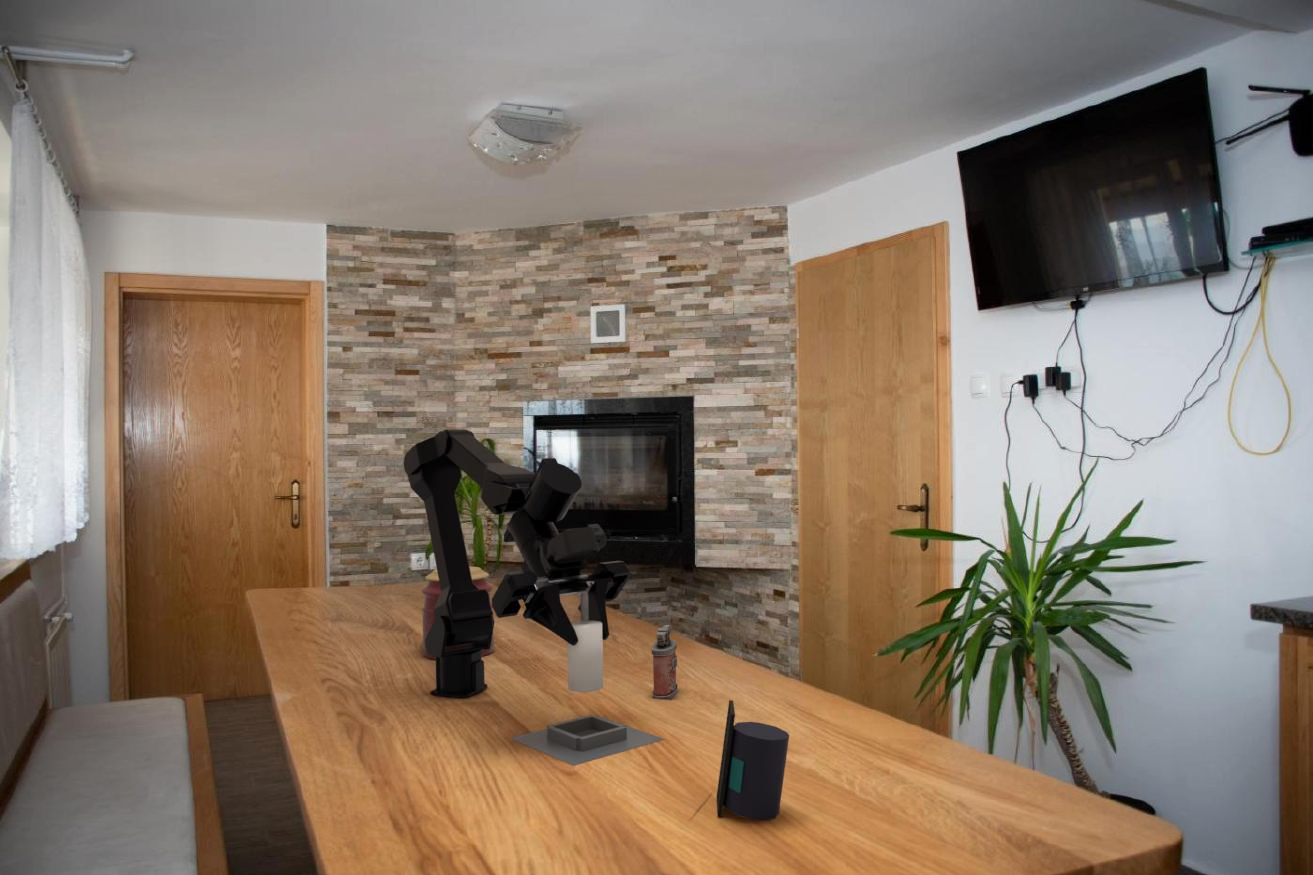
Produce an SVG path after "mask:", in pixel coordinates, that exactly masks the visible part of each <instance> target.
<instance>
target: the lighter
mask: <svg viewBox="0 0 1313 875" xmlns="http://www.w3.org/2000/svg"><path fill="white" fill-rule="evenodd" d="M671 635H672V626H671V625H670V624H665V625H663V626H662V627H658V628H657V632H656V642H654V643H653V645H652V646H651V655H652V669H653V670H652V672H653V674H652V675H653V691H652V699H654V700H665V701H666V700H667V701H672V700H674V699H675V698H676V697H677V695H678V683H677V667H678V656H677V655H676V650H677V648H678V647H677V646H678V644H677V643H678V642H677V640H676V639H671Z"/></svg>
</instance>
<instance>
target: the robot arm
mask: <svg viewBox="0 0 1313 875" xmlns="http://www.w3.org/2000/svg"><path fill="white" fill-rule="evenodd" d="M403 468H404V472H405V473H406V475H407V479H408V483H409V487H410V488H411V490H412V491H413V492H414V493H415V494H416V495H417V496H418V497H419V498H420V499H421V500H422V502H423V504H424V508H425V513H426V519H427V524H428V530H429V535H430V539H431V540H430V541H431V544H432V550H433V554H434V560H435V566H436V569H437V572H438V577H439V583H440V588H441V592H440V595H439V597H438V600H437V602H436V605H435V608H434V617H435V621H434V623H433V625H432V627H431V628H430V630H429V632H428V634H427V636H426V638H425V645H426V651H427V653H428V654H431V655H434V656H436V659H435V688H434V689H432V690H430V692H429V694H430V696H442V697H452V698H453V697H456V698H469V697H471V696H473V695H475V694H477V693H480V692H481V691H483V690H485V689H488V684H487V683H485V660H483V659H482V657H483V656H481V650H485V649H486V650H488V649H490V645H491V640H492V634H493V635H494V628H495V620H494V619H495V617H494V612H495V616H496V617H497V618H498V619H501V618H507V617H515V616H517V615H518V614H519V612H520V610H521V608H522V606H521V604H520V601H523V603H524V606H525V610H524V611H523V613H522V617H523V618H524V619H525V620H528V619H529V620H532V621H533V622H535V623H537V624H538V625H540V626H542V627H544V628H545V629H547V630H548V631H550V632H551V633H553V634H555V635H556V636H558V637H559V638H560V639H562V640H563V641H565V642H566V643H567V642H568V643H569V644H571V645H572V646H574V645H576V644H577V642H578V638H577V635H576V632H575V630H574V628H573V626H572V624H571V622H572V621H571V620H570V618H569V616H568V614H567V612H566V610H565V608H564V606H563V605H562V602H561V596H567V595H573V594H577V596H578V597H579V598H580V595H581V593H582V592H587V593H588V610H589V620H592V621H599V622H602V638H603V641H604V640H605V641H606V640H608V638H609V636H610V631H609V630H610V629H609V623H608V614H607V608H606V603H607V602H612V601H614V600H616V599H617V597H618V596H619V594H620V593H621V592H622V590H623V588H624V587H625V585H626V584H627V582H628V581H629V579H631V576H632V572H631V570H630V569H629V567H628V565H627V563H626V561H621V560H615V561H614V560H613V561H604V562H598V563H597V565H596V567H595V568H594V570H593V571H592V573H591V574H590V575H588V574H581V571H582V570H585V569H586V567H587V565H588V563H589V562H587V560H586V559H587V558H589V557H591V556H592V555H593V554H598V553H599V552H600V550H601V549H602V548H604V547H605V546H606V545H607V541H608V539H607V536H606V532H604V530H603V529H602V527H601V526H600V525H599V523H593V524H591V523H590V524H587V525H586V527H578V528H568V529H565V530H562V531H561V532H559V531H558V529H557V527H556V526H555V524H554V523H558V522H560V521H561V520H563V519H564V518H565V516H566V515H567V513H568V511H569V509H570V507H571V505H572V504H573V502H574V500H575V499H576V497H577V495H578V494H579V491H581V488H582V486H583V485H582V478H581V477H580V475H579V474H578V473H577V472H575V471H574V470H572V469H571V468H570V467H569V466H566V465H564V464H562V463H559V462H558V460H557V459H556V458H555V457H548V458H547V457H546V458H541V460H540V463H539V464H538V468H537V470H536V472H535V473H534V472H533V471H530V470H529V469H526V468H524V467H520V466H516V465H511V464H508V463H506V462H504V460H502V459H501V458H500V457H499V456H497V455H496V454H495V453H493V452H492V451H491V450H490V449H489V448H488V447H486V446H485V444H483V443H482V442H481V441H479V440H478V439H477V438H476V437H475V434H474V433H473V432H472V431H470V430H468V429H462V428H461V429H459V428H458V429H457V428H456V429H455V428H454V429H450V428H449V429H443V430H441V431H439V432H437V433H436V434H435V435H434V436H432V437H429V438H427V439H425V440H422V441H420V442H417V443H415V444H414V445H413V446H412V447H411V448H410V449H409V450H408V451H407V452H406V453H405V454H404V458H403ZM462 471H463V473H465V474H466V476H468V477H469V478H470V479H471V480H472V481H473V482H474V483H476V484H477V485H478V486H479V487H480V489H481V492H480V499H481V501H482V502H483V503H484V505H485V506H486V507H487V509H488V510H489V512H491V513H492V514H493V515H495V516H499V515H500V516H501V515H511V517H510V519H509V521H508V522H507V523H506V529H505V531H504V533H503V542H504V543H513V542H515V545H516V546H517V548H518V551H519V552H520V555H521V556H522V558H523V560H524V561H523V563H522V565H521V566H520V568H521V570H522V571H519V572H511V573H505V575H504V576H503V577H502V580H501V582H500V584H499V585H498V587H497V589H496V591H495V593H494V594H493V596H492V597H491V602H492V607H493V612H492V610H491V606H490V602H489V594H488V592H487V591H486V590H485V589H481V590H479V589H478V587H477V586H476V585H475V584H474V583H473V581H472V577H471V572H470V567H469V566H470V562H469V558H468V553H467V547H466V543H465V539H464V538H465V537H464V533H463V528H462V524H461V519H460V514H459V513H460V512H459V508H458V503H457V497H456V492H457V490H458V488H459V484H460V482H461V480H462V476H463V475H462ZM577 610H578V611H579V612H580V613H581V609H580V604H579V606H578V607H577Z"/></svg>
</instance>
